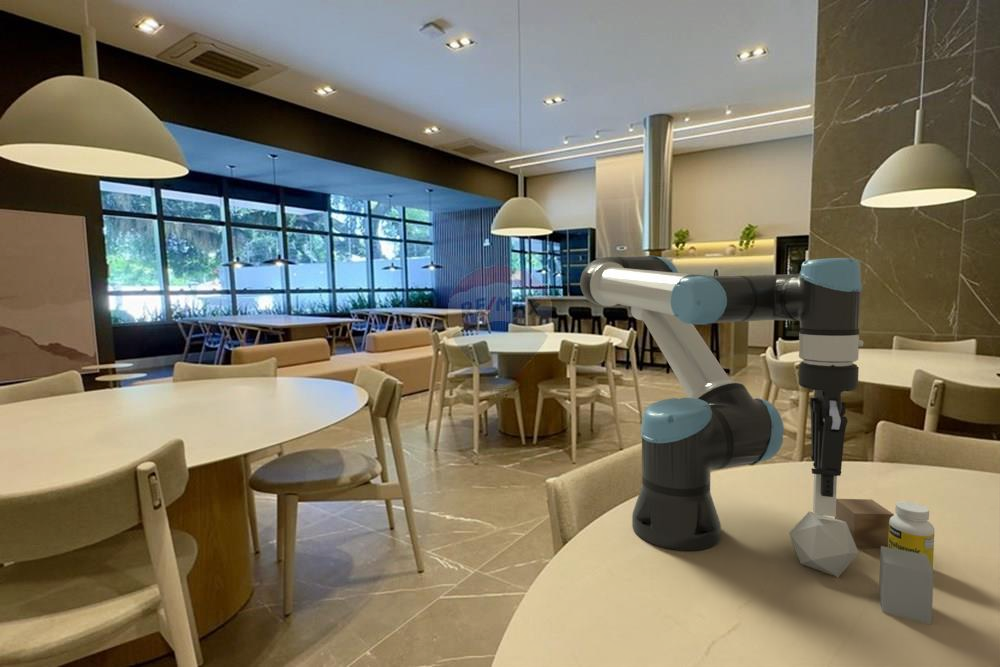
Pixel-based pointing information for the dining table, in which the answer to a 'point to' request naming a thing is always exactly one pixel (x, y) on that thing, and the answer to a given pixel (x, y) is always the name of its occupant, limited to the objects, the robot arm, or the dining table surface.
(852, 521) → the walnut block
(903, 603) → the grey block
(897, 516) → the supplement bottle
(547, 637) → the dining table surface
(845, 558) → the die
